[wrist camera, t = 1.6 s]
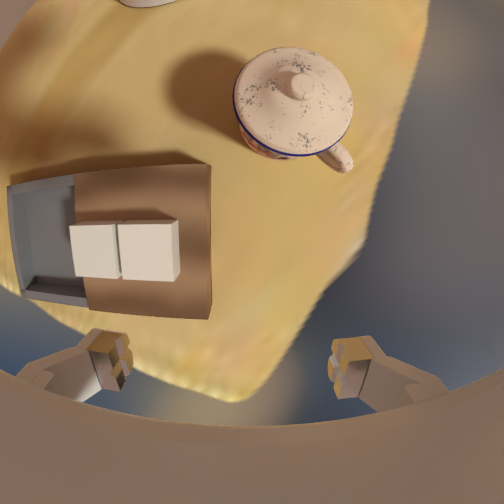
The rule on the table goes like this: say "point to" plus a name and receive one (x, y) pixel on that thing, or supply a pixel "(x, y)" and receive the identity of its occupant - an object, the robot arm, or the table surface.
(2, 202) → the table surface
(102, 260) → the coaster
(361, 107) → the table surface
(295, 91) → the teacup with lid
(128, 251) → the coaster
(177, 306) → the walnut board
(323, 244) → the table surface
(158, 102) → the table surface
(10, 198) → the tray
